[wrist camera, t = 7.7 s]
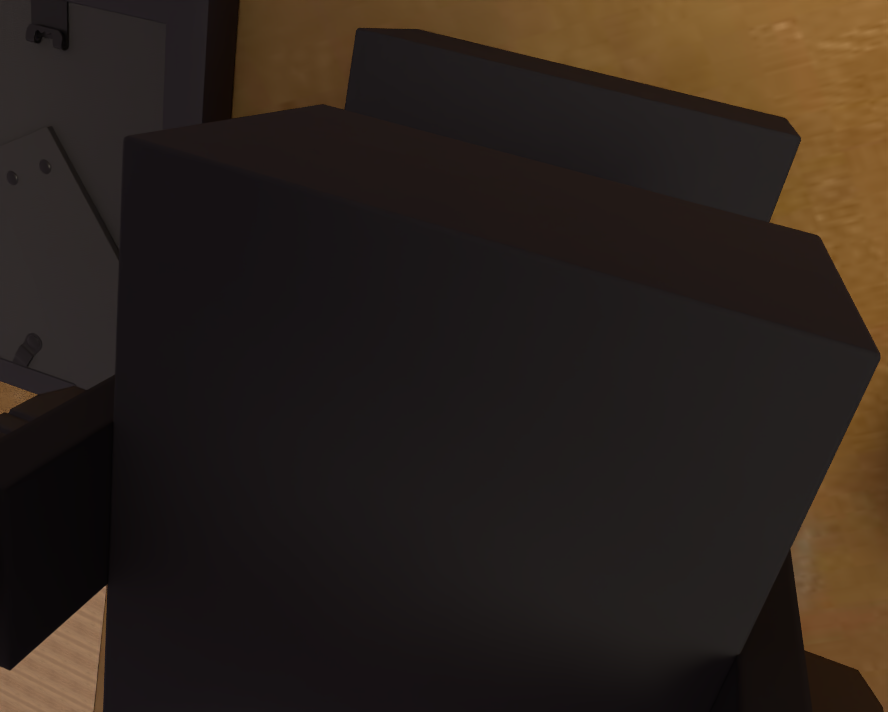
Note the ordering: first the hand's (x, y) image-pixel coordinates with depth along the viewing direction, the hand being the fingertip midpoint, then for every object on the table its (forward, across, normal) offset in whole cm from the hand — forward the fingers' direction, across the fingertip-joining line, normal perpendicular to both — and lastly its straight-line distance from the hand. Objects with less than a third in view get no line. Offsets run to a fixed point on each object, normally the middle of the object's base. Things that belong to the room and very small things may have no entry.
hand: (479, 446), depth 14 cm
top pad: (0, 0, 0) cm, 0 cm away
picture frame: (+15, -21, -3) cm, 26 cm away
